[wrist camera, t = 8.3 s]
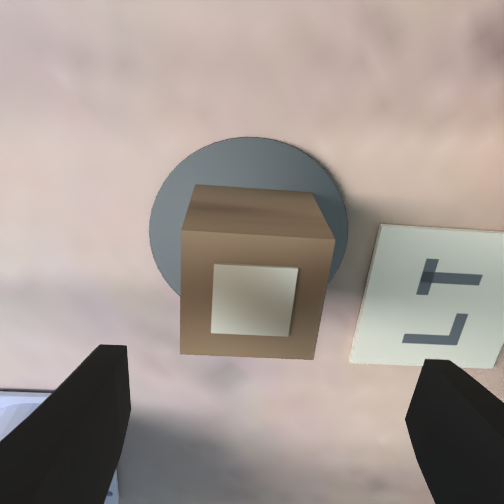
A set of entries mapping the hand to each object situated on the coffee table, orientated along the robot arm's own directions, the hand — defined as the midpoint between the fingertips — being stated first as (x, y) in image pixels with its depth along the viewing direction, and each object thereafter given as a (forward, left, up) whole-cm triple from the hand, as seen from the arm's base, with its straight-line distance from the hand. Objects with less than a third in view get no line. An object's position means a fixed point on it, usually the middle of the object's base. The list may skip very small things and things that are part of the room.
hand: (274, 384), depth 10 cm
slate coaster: (-1, 0, -10) cm, 10 cm away
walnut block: (-1, 0, -10) cm, 10 cm away
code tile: (-4, -10, -10) cm, 14 cm away
